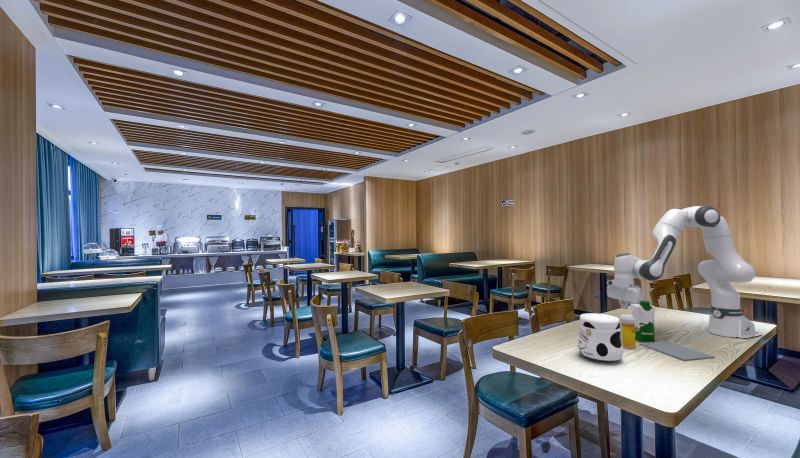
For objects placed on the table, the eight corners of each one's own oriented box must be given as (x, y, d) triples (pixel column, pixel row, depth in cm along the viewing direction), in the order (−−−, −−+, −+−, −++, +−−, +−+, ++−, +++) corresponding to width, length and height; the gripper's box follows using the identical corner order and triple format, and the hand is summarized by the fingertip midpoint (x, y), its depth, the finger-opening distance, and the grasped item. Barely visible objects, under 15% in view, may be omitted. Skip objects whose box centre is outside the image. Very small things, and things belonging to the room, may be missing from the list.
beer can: (637, 349, 161) (637, 317, 161) (623, 348, 162) (622, 317, 162) (631, 345, 166) (631, 314, 167) (618, 344, 168) (617, 314, 168)
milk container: (569, 354, 156) (568, 315, 156) (597, 349, 162) (596, 311, 162) (604, 368, 140) (602, 324, 140) (633, 361, 146) (632, 319, 146)
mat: (666, 342, 170) (666, 340, 170) (714, 357, 148) (714, 356, 148) (639, 344, 167) (639, 343, 167) (684, 361, 145) (684, 359, 145)
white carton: (639, 342, 170) (638, 302, 170) (629, 337, 179) (628, 299, 179) (658, 342, 169) (657, 302, 169) (646, 337, 178) (645, 299, 178)
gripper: (645, 286, 175) (646, 312, 175) (614, 280, 195) (614, 304, 195) (635, 286, 174) (636, 313, 174) (604, 281, 194) (605, 305, 194)
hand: (624, 308), depth 185 cm, fingers closed
